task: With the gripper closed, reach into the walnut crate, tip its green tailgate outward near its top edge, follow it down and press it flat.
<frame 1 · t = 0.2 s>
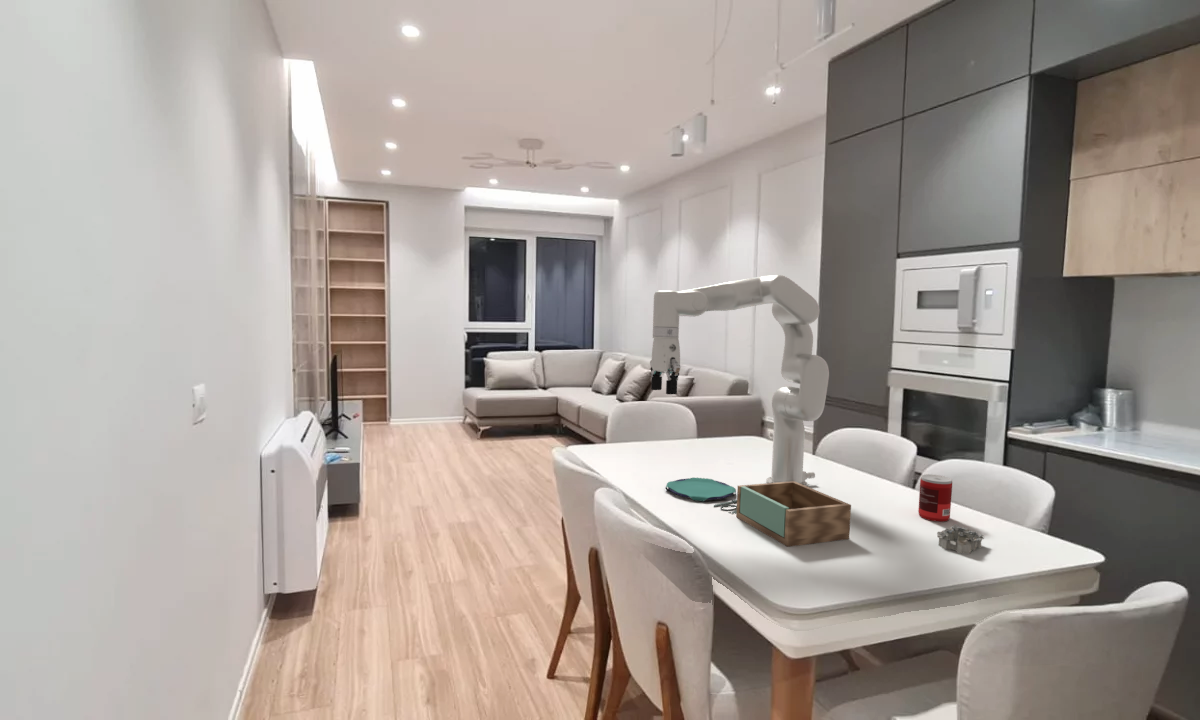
hand: (663, 391, 180), 31 cm above the table, tool pointing down, fingers open, 9 cm apart
teal flat rounded piece: (711, 499, 183), on the table
crate: (790, 527, 158), on the table
tailgate: (763, 510, 154), point 5 cm above the table, hinge at 0.0°
canned food: (933, 518, 169), on the table
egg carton: (959, 547, 148), on the table
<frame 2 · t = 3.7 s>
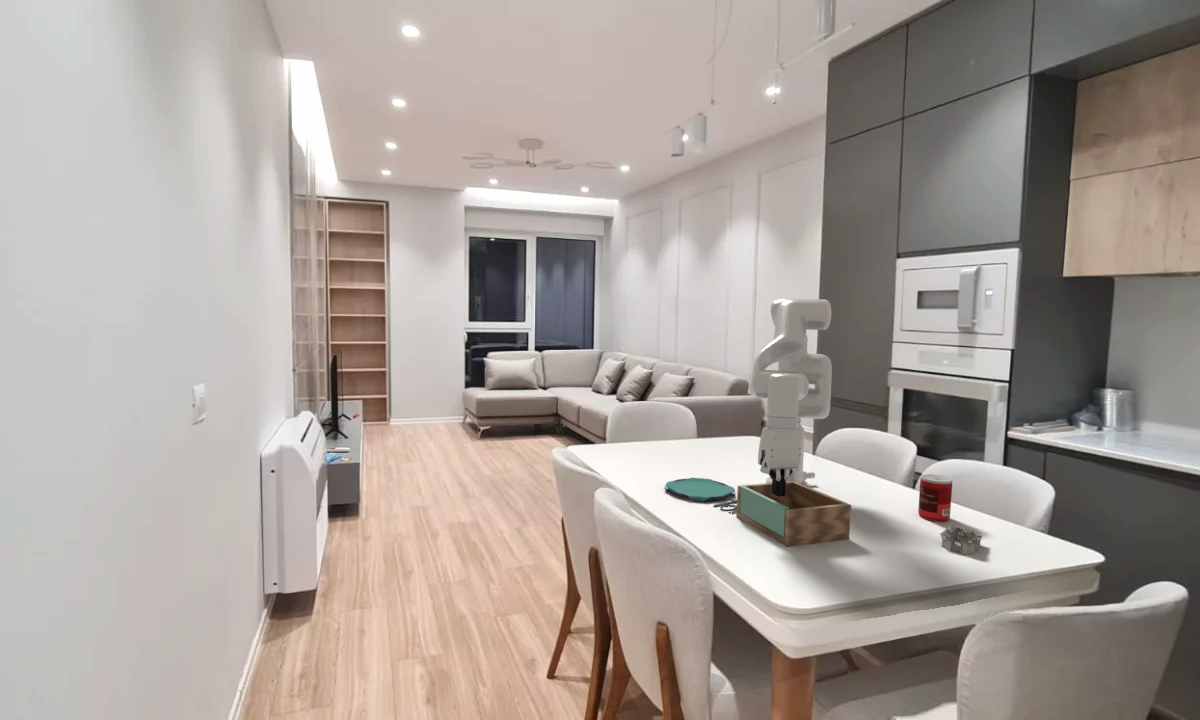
hand: (778, 495, 155), 9 cm above the table, tool pointing down, fingers closed
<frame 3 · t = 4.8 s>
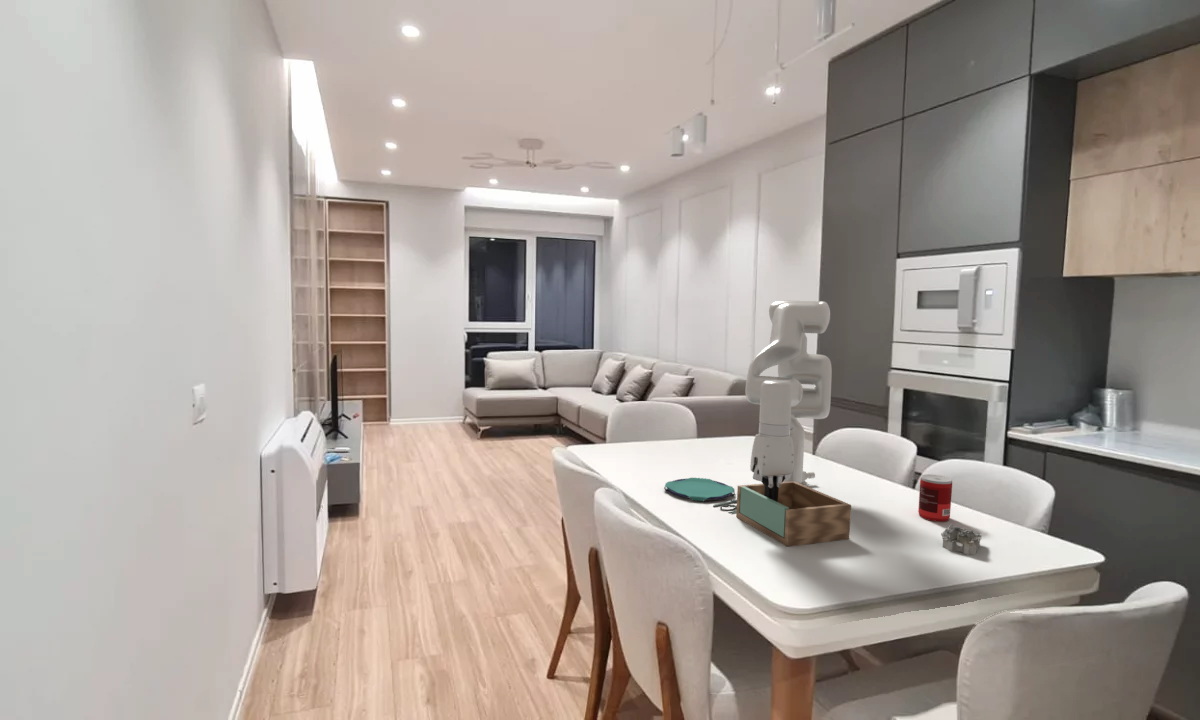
hand: (771, 501, 155), 7 cm above the table, tool pointing down, fingers closed
tailgate: (763, 510, 154), point 5 cm above the table, hinge at 0.4°, touching gripper
everything else where it was.
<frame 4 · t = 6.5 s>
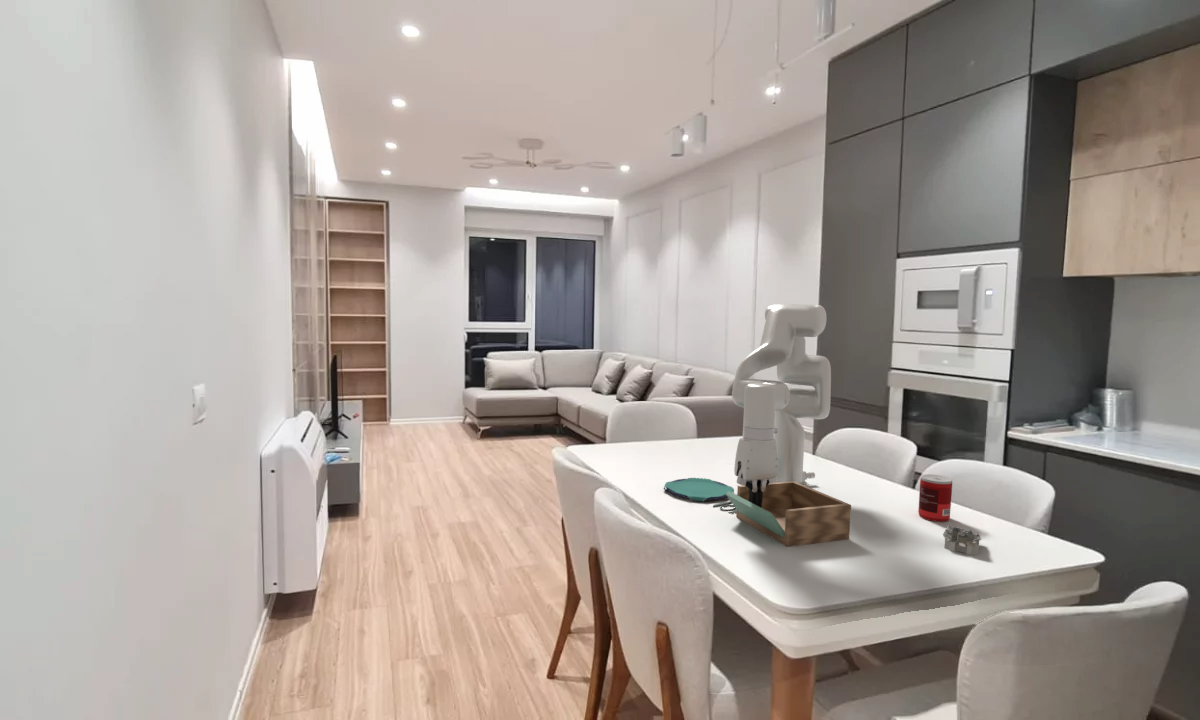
hand: (755, 506, 153), 6 cm above the table, tool pointing down, fingers closed
tailgate: (754, 512, 154), point 5 cm above the table, hinge at 39.5°, touching gripper
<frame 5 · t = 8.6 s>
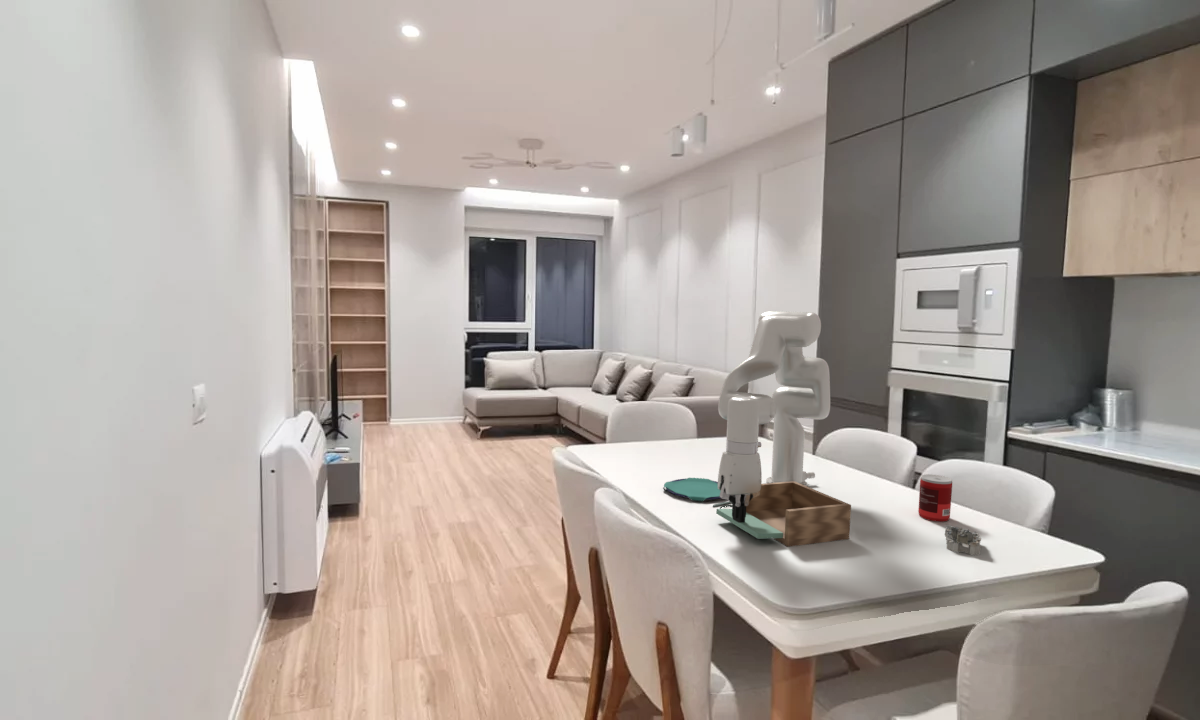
hand: (738, 520, 152), 3 cm above the table, tool pointing down, fingers closed
tailgate: (748, 522, 153), point 2 cm above the table, hinge at 85.3°, touching gripper
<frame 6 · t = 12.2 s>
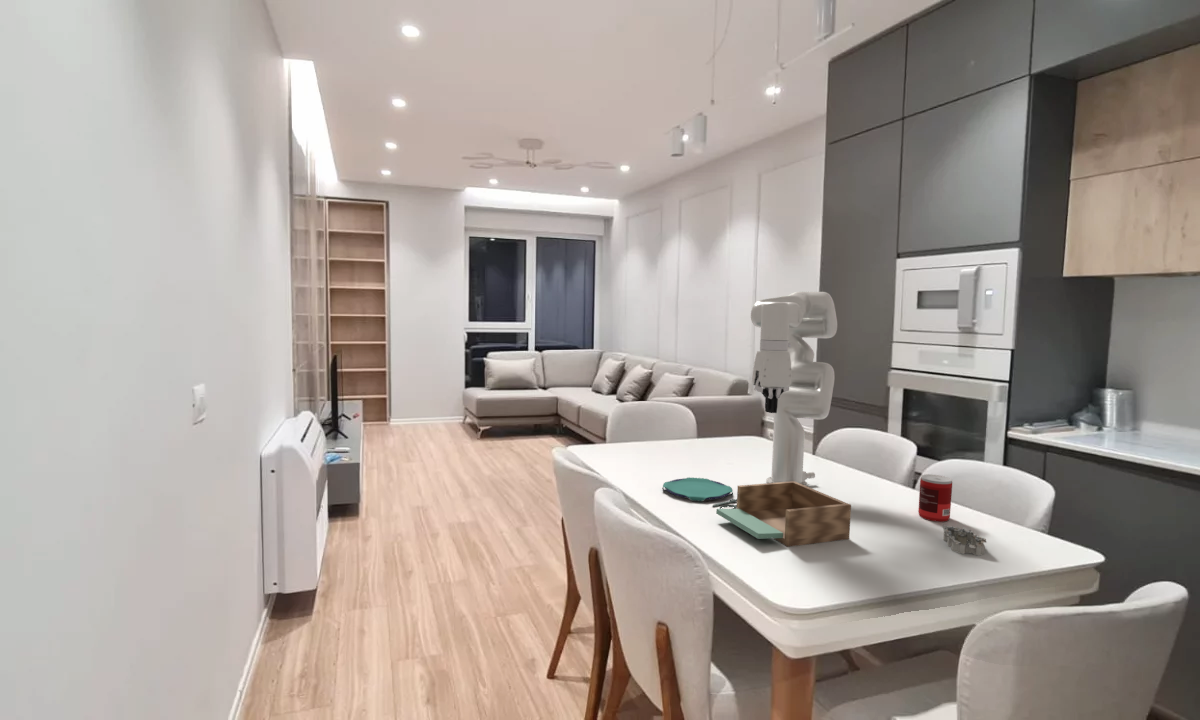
hand: (770, 412, 172), 27 cm above the table, tool pointing down, fingers closed
tailgate: (748, 522, 153), point 2 cm above the table, hinge at 85.3°
at the end: tailgate at +85° (first picture: +0°) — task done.
